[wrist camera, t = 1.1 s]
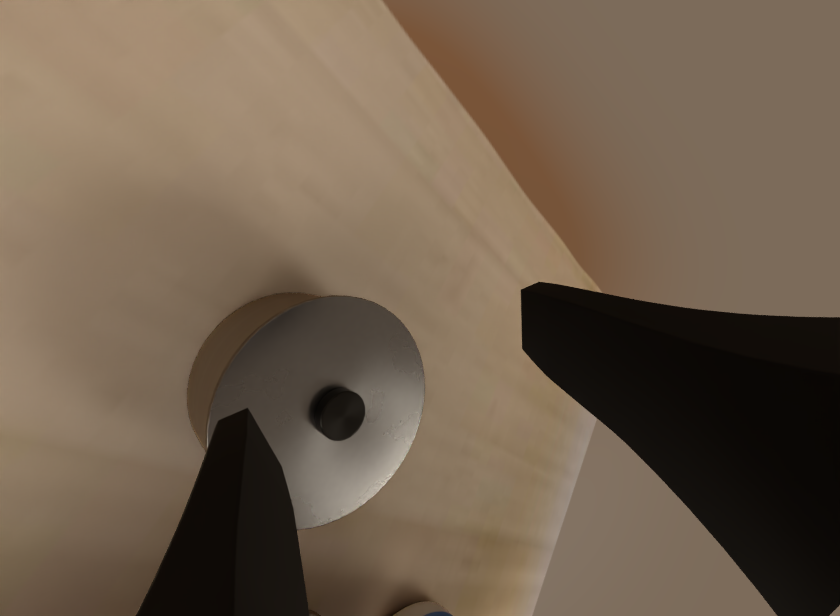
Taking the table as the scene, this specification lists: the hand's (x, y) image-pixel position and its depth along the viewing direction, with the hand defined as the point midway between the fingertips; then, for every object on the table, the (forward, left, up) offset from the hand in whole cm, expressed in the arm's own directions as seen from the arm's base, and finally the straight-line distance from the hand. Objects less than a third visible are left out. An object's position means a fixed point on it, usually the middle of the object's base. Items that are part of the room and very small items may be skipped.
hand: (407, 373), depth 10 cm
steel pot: (+1, -3, -11) cm, 12 cm away
